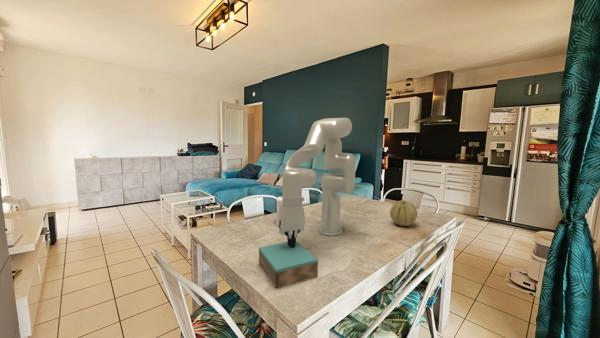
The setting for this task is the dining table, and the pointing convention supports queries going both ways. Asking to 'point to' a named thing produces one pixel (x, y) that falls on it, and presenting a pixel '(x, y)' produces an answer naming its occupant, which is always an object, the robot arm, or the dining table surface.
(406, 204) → the cantaloupe
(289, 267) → the lid
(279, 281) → the brown wooden box
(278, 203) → the supplement box
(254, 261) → the dining table surface
